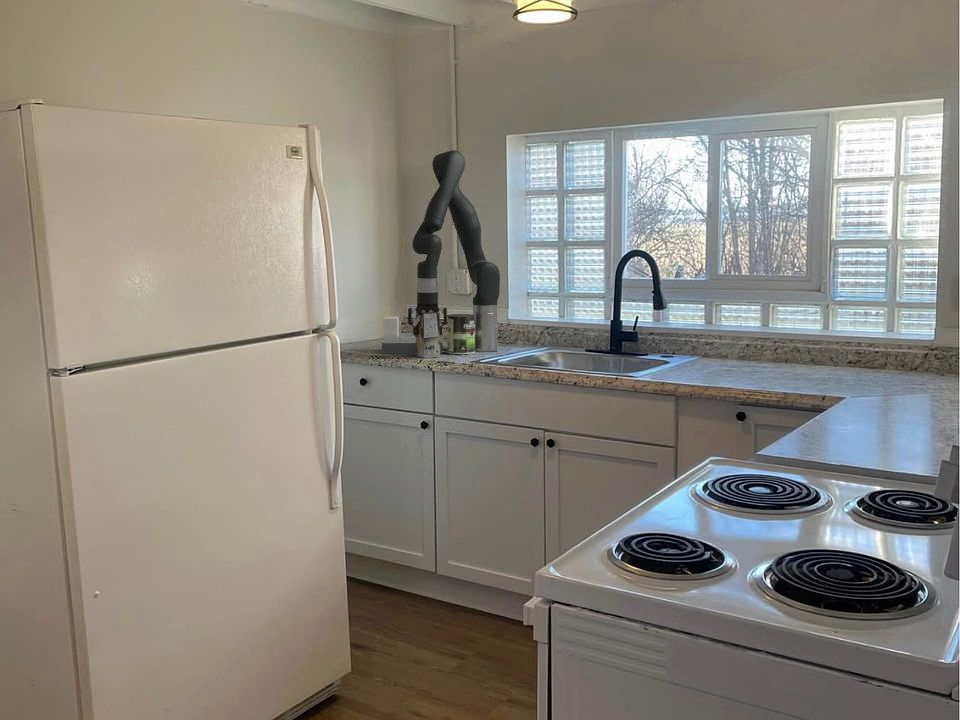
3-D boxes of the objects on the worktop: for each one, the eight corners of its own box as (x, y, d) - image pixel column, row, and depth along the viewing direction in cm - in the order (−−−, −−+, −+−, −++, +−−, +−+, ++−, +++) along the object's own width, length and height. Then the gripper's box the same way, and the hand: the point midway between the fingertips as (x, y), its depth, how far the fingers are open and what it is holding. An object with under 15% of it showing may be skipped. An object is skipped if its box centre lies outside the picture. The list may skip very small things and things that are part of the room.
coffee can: (480, 352, 335) (480, 314, 333) (463, 355, 327) (463, 316, 325) (459, 350, 341) (458, 313, 339) (441, 353, 333) (441, 315, 331)
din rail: (442, 338, 345) (442, 333, 344) (442, 342, 332) (442, 336, 331) (384, 339, 344) (384, 333, 344) (382, 343, 331) (381, 337, 331)
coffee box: (440, 357, 322) (440, 312, 320) (423, 358, 319) (423, 313, 317) (431, 354, 330) (431, 310, 328) (415, 355, 328) (414, 311, 325)
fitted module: (398, 337, 342) (398, 316, 341) (397, 340, 333) (397, 318, 332) (385, 337, 342) (385, 316, 341) (383, 340, 333) (383, 318, 332)
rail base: (442, 349, 346) (442, 338, 345) (442, 353, 332) (442, 342, 331) (384, 349, 345) (384, 338, 344) (382, 354, 331) (381, 343, 331)
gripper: (447, 290, 326) (447, 335, 328) (407, 290, 325) (408, 335, 327) (447, 291, 318) (447, 337, 320) (406, 291, 318) (407, 337, 320)
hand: (427, 336), depth 324 cm, fingers closed on coffee box, 8 cm apart
